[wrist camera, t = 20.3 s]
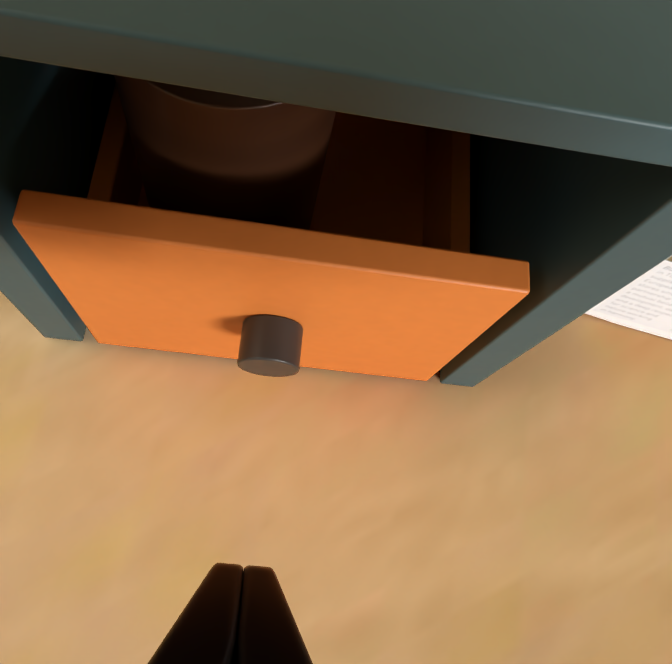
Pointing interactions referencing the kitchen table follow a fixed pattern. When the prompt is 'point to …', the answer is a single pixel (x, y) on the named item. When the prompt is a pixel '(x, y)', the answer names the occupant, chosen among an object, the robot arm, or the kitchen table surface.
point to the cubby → (389, 104)
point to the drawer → (286, 260)
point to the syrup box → (642, 303)
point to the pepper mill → (226, 152)
